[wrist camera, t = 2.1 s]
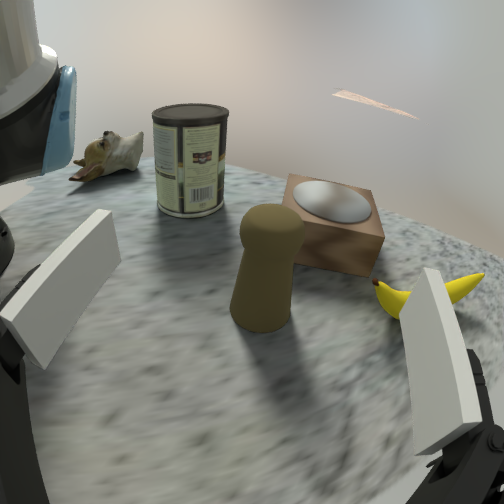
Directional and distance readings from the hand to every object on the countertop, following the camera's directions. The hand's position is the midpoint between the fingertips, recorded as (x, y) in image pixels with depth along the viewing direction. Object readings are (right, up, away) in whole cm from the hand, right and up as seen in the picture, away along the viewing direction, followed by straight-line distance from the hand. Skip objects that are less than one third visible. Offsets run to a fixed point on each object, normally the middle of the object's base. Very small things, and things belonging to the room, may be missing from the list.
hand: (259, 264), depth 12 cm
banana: (+19, -7, +19) cm, 28 cm away
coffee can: (-10, +8, +34) cm, 36 cm away
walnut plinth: (+9, +2, +28) cm, 30 cm away
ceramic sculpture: (-28, +15, +40) cm, 51 cm away
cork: (0, -5, +18) cm, 19 cm away
